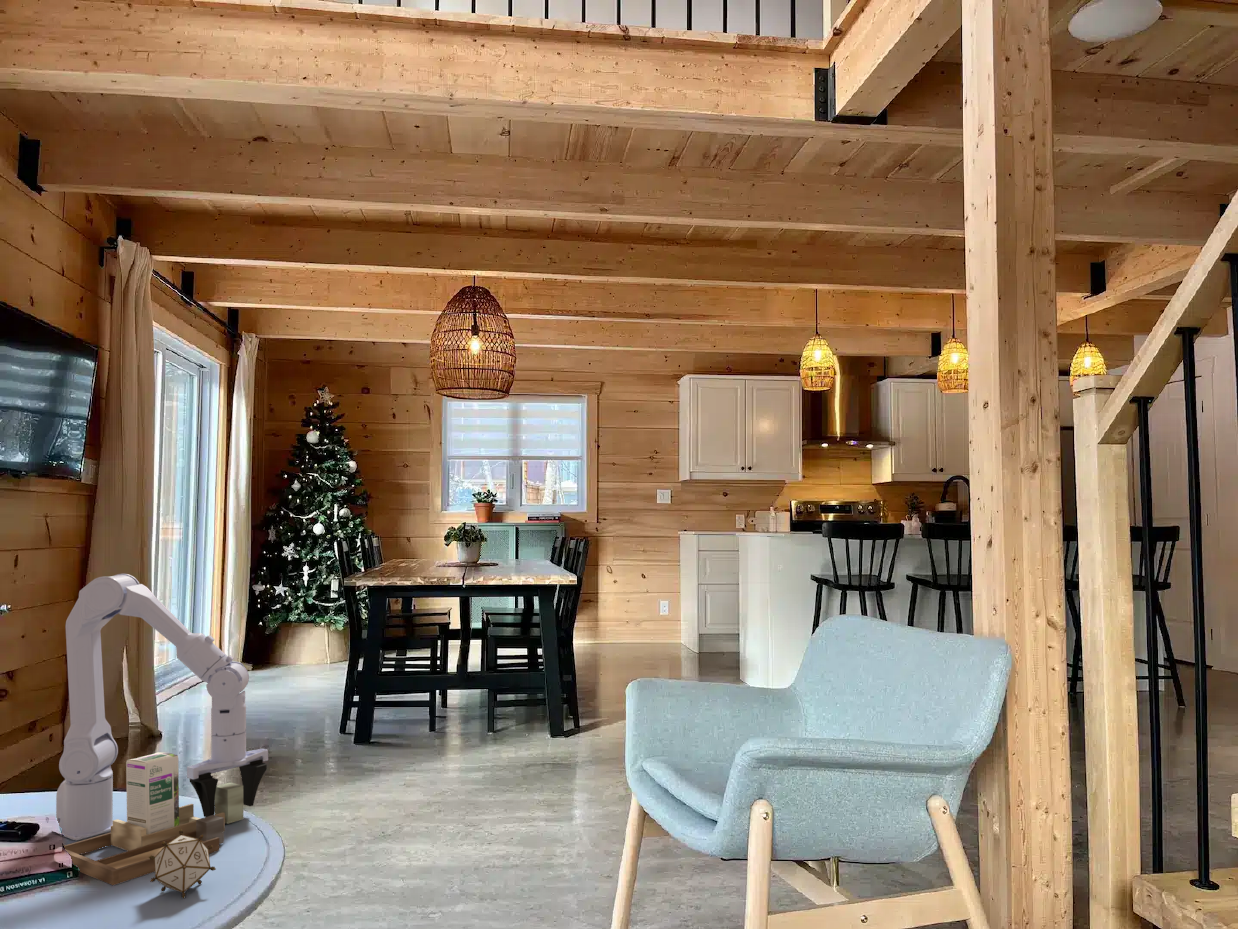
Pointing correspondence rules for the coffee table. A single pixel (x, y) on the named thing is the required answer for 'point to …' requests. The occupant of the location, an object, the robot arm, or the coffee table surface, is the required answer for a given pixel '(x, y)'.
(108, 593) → the robot arm
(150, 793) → the syrup box
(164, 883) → the game die
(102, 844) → the lane board
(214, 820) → the wooden bar
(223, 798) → the wooden slotted tray
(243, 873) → the coffee table surface
